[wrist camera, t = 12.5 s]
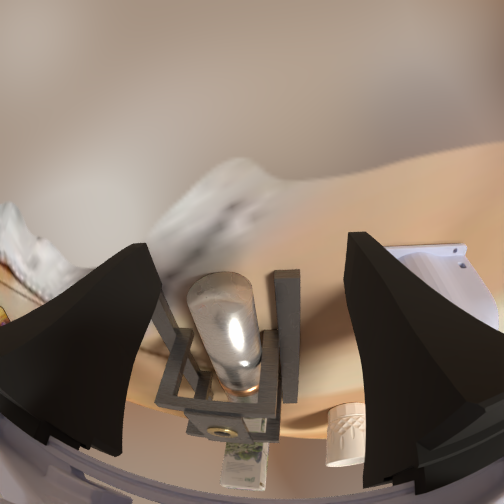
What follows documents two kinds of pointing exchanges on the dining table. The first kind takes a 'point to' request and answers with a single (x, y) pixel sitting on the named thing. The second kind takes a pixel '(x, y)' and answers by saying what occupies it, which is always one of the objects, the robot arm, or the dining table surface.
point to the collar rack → (182, 362)
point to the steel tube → (229, 332)
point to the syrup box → (246, 461)
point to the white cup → (346, 435)
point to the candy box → (3, 317)
